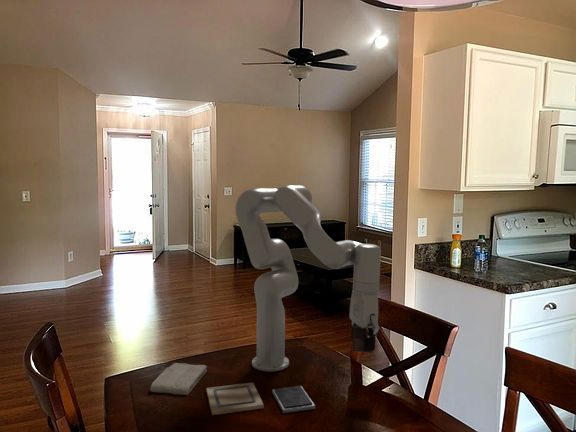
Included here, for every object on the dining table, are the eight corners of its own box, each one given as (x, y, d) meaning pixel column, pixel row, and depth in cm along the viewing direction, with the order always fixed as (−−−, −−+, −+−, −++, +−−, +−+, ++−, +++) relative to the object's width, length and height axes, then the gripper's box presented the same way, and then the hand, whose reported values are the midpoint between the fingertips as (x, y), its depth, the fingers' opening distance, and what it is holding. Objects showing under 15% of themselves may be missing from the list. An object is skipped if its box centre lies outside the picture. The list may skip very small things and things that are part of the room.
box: (372, 353, 130) (374, 329, 129) (351, 351, 131) (353, 327, 130) (372, 346, 136) (374, 322, 135) (352, 343, 137) (354, 320, 136)
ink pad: (272, 392, 132) (272, 388, 132) (301, 389, 135) (301, 384, 135) (283, 413, 121) (283, 408, 121) (314, 408, 123) (315, 403, 123)
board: (206, 391, 133) (206, 387, 133) (253, 385, 137) (253, 381, 137) (212, 415, 119) (212, 410, 119) (263, 408, 123) (263, 404, 123)
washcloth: (208, 371, 147) (208, 362, 147) (188, 397, 130) (188, 387, 130) (173, 368, 149) (173, 359, 149) (149, 394, 131) (149, 384, 131)
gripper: (342, 279, 139) (339, 334, 140) (367, 295, 122) (364, 357, 124) (364, 279, 141) (361, 333, 143) (392, 293, 124) (388, 355, 126)
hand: (362, 344), depth 133 cm, fingers closed on box, 8 cm apart
